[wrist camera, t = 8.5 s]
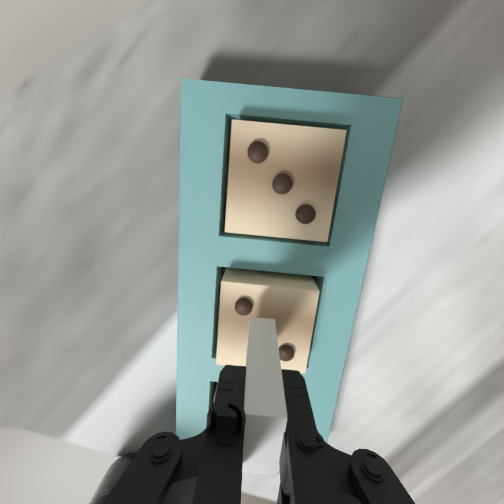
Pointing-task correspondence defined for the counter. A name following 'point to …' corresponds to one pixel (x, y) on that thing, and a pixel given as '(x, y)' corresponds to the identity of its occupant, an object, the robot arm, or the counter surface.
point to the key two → (266, 314)
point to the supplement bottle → (111, 478)
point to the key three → (282, 179)
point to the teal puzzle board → (273, 248)
